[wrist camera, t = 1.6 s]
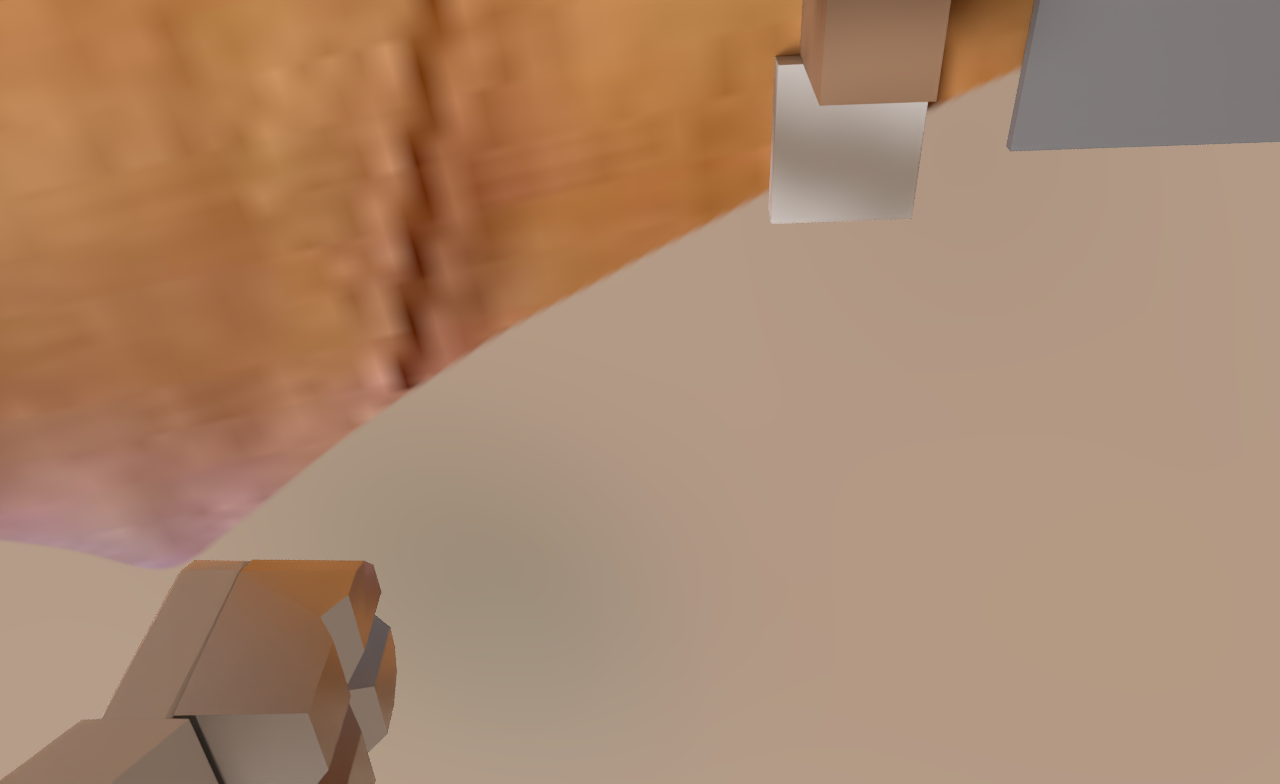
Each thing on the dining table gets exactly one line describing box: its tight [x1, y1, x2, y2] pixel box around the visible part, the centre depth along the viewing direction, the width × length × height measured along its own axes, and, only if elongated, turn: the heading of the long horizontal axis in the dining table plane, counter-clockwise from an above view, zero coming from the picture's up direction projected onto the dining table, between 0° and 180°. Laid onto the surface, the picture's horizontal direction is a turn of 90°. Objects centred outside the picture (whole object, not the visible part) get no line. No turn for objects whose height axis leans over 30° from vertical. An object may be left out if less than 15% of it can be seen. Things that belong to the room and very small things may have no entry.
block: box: [768, 0, 951, 224], centre depth 26 cm, size 13×4×4 cm, turn 2°
